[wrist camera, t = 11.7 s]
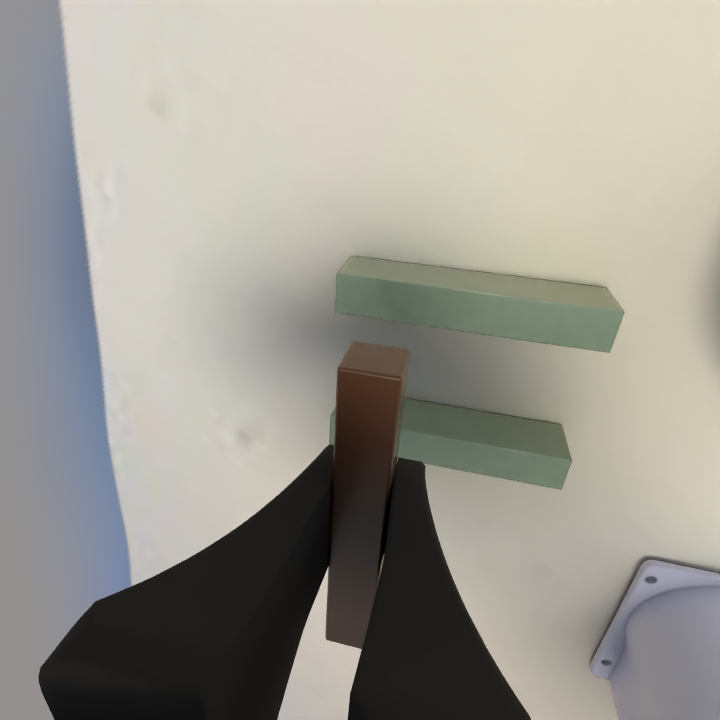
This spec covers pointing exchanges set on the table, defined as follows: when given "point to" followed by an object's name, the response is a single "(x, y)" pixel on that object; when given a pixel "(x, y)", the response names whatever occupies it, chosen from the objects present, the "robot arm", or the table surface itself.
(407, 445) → the miniature wooden rack
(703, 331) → the table surface
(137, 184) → the table surface
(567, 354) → the table surface
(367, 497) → the chopstick
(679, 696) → the robot arm
